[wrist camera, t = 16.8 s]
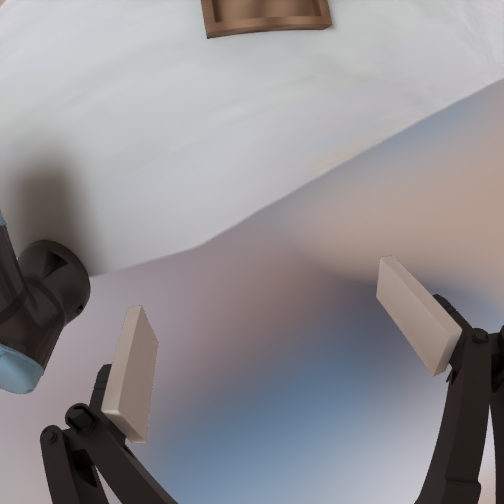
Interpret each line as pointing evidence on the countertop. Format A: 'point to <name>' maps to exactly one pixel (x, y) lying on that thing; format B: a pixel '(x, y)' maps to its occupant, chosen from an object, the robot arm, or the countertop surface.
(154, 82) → the countertop surface
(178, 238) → the countertop surface
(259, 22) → the tray
